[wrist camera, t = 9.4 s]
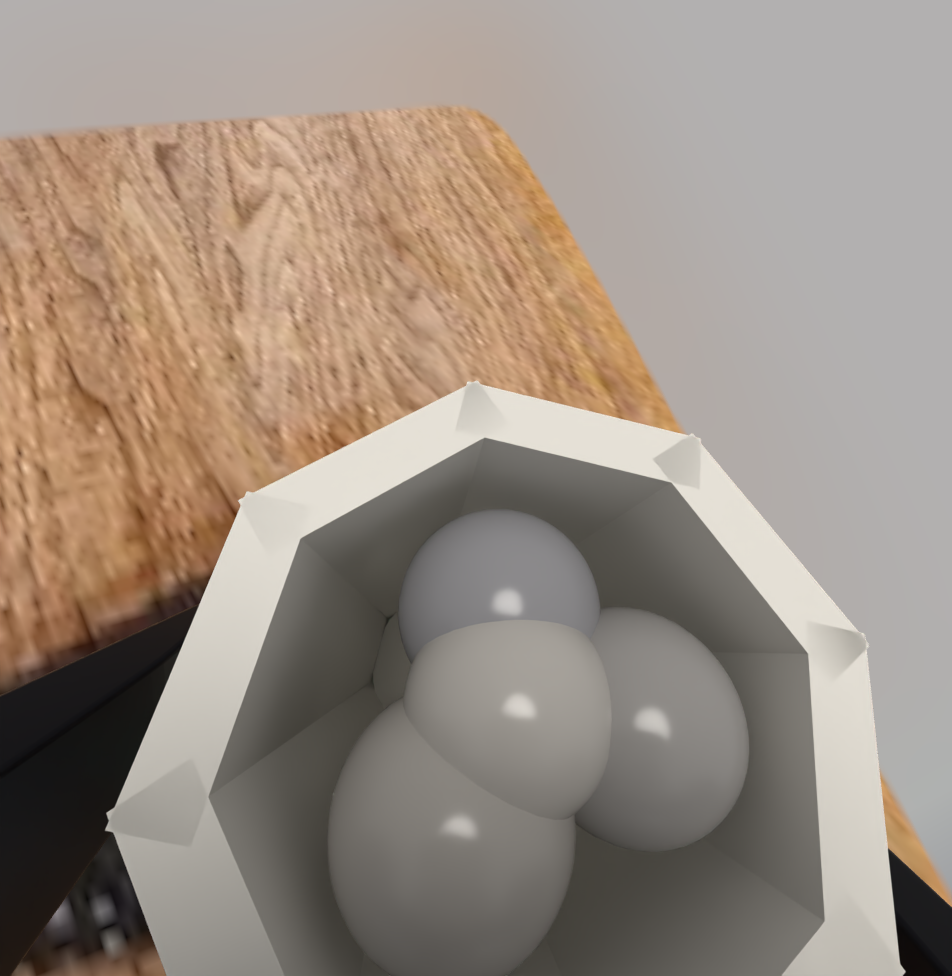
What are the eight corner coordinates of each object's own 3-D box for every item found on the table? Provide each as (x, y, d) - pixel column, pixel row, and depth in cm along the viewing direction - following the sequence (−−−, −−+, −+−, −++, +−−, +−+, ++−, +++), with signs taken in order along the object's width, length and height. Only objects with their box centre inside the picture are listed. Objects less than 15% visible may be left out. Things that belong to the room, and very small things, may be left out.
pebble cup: (523, 787, 14) (1030, 1471, 2) (333, 747, 14) (-140, 1294, 2) (550, 594, 16) (886, 457, 5) (386, 557, 16) (296, 310, 4)
